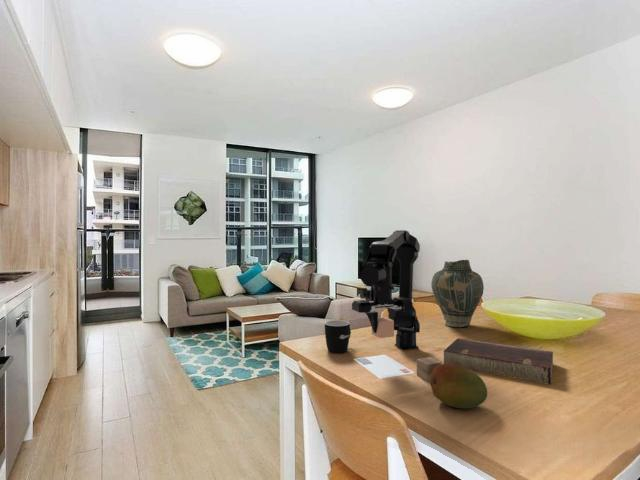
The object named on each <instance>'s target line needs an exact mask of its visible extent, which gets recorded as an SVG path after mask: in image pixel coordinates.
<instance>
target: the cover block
mask: <svg viewBox="0 0 640 480" xmlns="http://www.w3.org/2000/svg"><path fill="white" fill-rule="evenodd" d="M371 335H373V336H374V337H376V338H378V339H385V338H393V337H395V330H394V320H391V319H389V318H388V317H387V316H385V317H384V316H383V317H378V322H377V332H376V333H374V332H373V329H372V328H371Z"/></svg>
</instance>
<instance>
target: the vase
mask: <svg viewBox="0 0 640 480" xmlns="http://www.w3.org/2000/svg"><path fill="white" fill-rule="evenodd" d="M430 285H431V290H432V294H433V297H434V299H435V301H436V303H437V305H438V307H439V308H440V311H441V313H442V316H443V320H444V321H445V323H444V326H447V327H451V328H452V327H453V328H454V327H455V328H462V327H463V328H465V327H467V326H468V327H469V326H470V325H471V321H472V318H473V315H474V313H475V311H476V310H477V307H478V305H479V304H480V302H481V299H482V297H483V295H484V286H485V285H484V280H483V278H482V276H481V274H479V273H478V272H476V271H474V270H472V267H471V263H470V260H469V259H460V260H456V261H444V265H443V267H442V269H441V270H439V271H436V272H435V273H434V274H433V275H432V279H431V284H430Z"/></svg>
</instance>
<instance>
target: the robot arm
mask: <svg viewBox="0 0 640 480" xmlns="http://www.w3.org/2000/svg"><path fill="white" fill-rule="evenodd" d="M420 246H421V244H420V242H419V240H418V238H417V237H415V236H414V235H411V233H410V231H408V230H405V229H401V230H400V229H399V230H394V231H393V232H392V234H390V235H389V236H388V237H387V238H385V239H383V240H380V241H379V240H377V241H373V242H372V243H371V244H370V245H369V249H368V251H367V255H366V258H365V263H364V264H365V265H366V266H365V267H364V268H363V269H362V270H361V272H360V274H359V275H360V280H361V283H363V284H364V285H366V286H368V287H370V289H368V288H367V287H364V288H359V298H360V299H359V300H356V299H355V300H353V302H352V303H351V310H352V311H356V312H357V313H359V314H362V313H363V314H365V315H366V316H367V318H368V320H369V323H370V326H371V330H372V329H373V332H374V333H376V332H377V322H378V318H379V312H378V311H376V309H379V308H382V309H383V308H386V310H387V312H388V317H387V318H389V319H391V320H394V331H396V334H395V343H394V346H395V347H397V348H399V349H401V350H403V351H407V350H417V349H419V347H420V346H418V345H417V333H420V332H421V331H420V330H421V328H420V327H421V325H420V321H419V319H418V315H417V311H416V308H415V307H414V304H413V283H414V282H413V277H414V276H413V275H414V263H415V262H416V261H417V259H418V258H419V252H420V251H421V247H420ZM395 258H396V259H397V260H398V262H399V265H400V266H399V283H398V285H399V290H398V297H393V296H392V295H393V290H395V286H394V285H393V284H392V282H393V280H392V279H393V277H392V276H393V274H392V273H393V271H392V270H393V268H392V267H393V263H394V261H395Z"/></svg>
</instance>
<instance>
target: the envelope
mask: <svg viewBox="0 0 640 480" xmlns="http://www.w3.org/2000/svg"><path fill="white" fill-rule="evenodd" d="M353 360H354V361H355V362H356V363H357V364H359V365H360V366H361V367H363V368H365V370H367V371H368V372H369V373H371V374H373V376H375V377H377V378H378V379H379V380H381V379H387V378H392V377H398V376H399V377H400V376H407V375H412V374H415V371H413V370H411V369H410V368H408V367H406V366H405V365H403V364H402V363H400V362H398V361H396V360H394V359H393V358H391V357H389V356H387V355H386V354H380V355H374V356H366V357H365V356H364V357H358V358H353Z"/></svg>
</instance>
